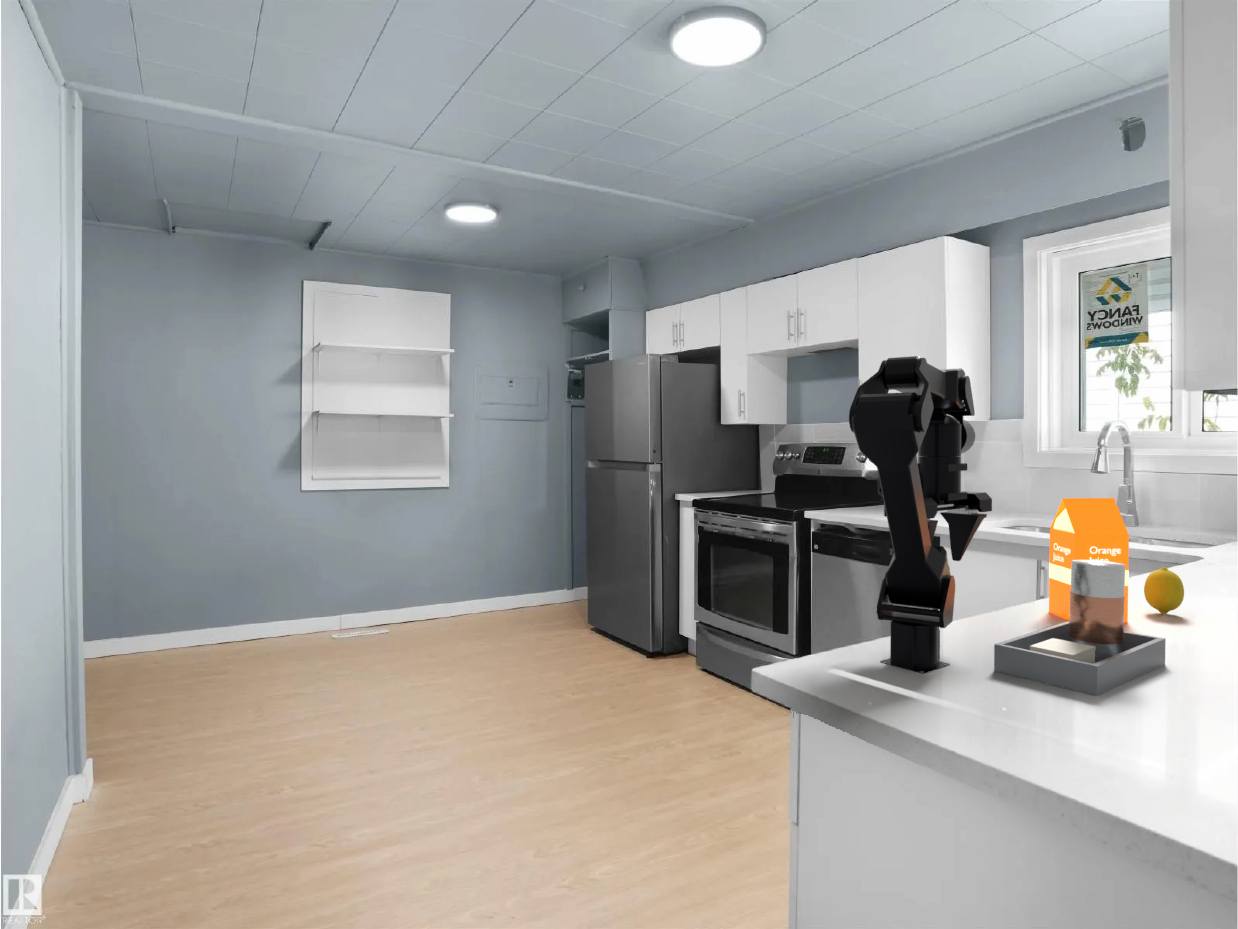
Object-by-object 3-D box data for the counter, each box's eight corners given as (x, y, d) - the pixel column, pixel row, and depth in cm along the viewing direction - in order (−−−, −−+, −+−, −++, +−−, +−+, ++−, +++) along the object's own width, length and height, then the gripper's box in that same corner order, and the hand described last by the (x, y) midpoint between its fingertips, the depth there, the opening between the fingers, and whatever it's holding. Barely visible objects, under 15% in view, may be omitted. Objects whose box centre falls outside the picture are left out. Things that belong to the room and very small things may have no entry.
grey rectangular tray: (1096, 701, 88) (1097, 666, 88) (994, 675, 98) (994, 644, 97) (1165, 669, 100) (1165, 638, 99) (1067, 648, 109) (1067, 621, 109)
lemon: (1190, 618, 126) (1191, 570, 126) (1152, 617, 128) (1153, 569, 127) (1173, 611, 132) (1174, 565, 132) (1137, 610, 133) (1138, 564, 133)
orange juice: (1128, 622, 124) (1130, 499, 124) (1073, 622, 125) (1075, 500, 124) (1099, 611, 132) (1100, 496, 132) (1047, 611, 132) (1049, 496, 132)
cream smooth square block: (1072, 684, 92) (1073, 655, 92) (1029, 674, 96) (1029, 645, 96) (1095, 675, 95) (1095, 646, 95) (1052, 665, 99) (1052, 638, 99)
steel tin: (1082, 667, 98) (1085, 566, 98) (1059, 653, 104) (1062, 559, 104) (1132, 668, 98) (1135, 567, 97) (1106, 655, 104) (1109, 560, 103)
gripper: (925, 454, 122) (925, 551, 123) (852, 457, 111) (852, 563, 112) (994, 455, 113) (993, 560, 114) (921, 458, 102) (920, 574, 103)
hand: (938, 564), depth 111 cm, fingers open, 9 cm apart
